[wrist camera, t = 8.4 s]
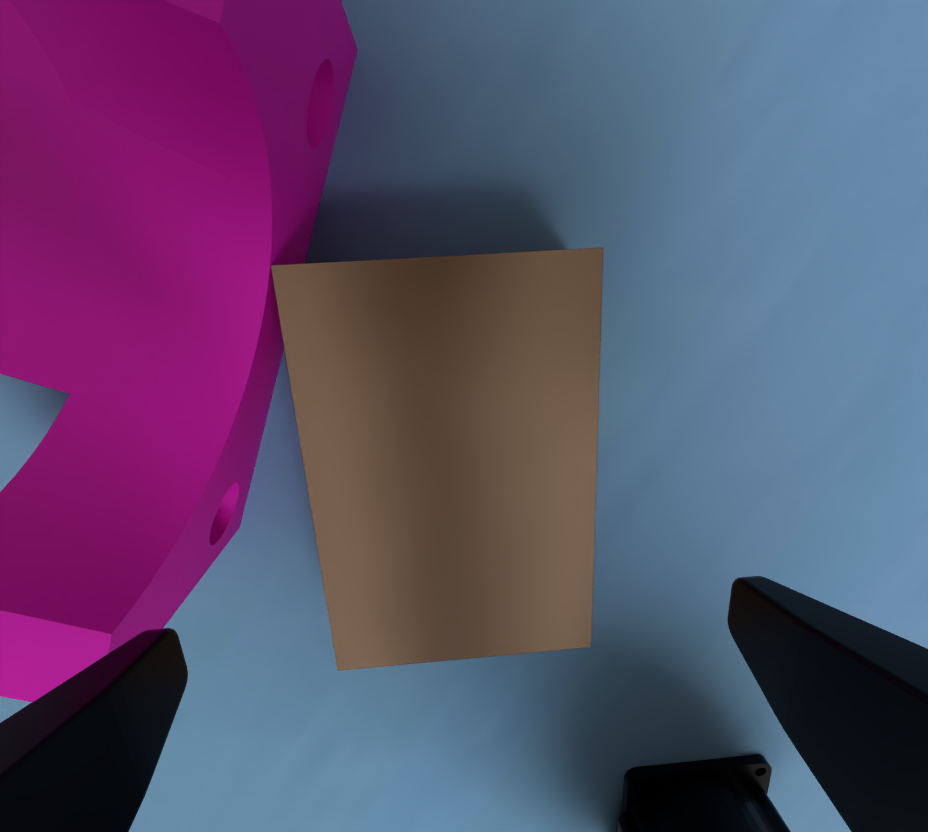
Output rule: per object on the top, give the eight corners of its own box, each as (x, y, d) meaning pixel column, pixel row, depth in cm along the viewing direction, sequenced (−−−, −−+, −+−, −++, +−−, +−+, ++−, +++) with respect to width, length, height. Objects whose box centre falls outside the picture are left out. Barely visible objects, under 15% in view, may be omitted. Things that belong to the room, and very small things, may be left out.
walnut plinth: (569, 252, 14) (603, 247, 12) (565, 587, 18) (590, 646, 15) (304, 267, 14) (270, 265, 11) (353, 605, 18) (337, 670, 15)
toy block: (115, -51, 12) (-371, -548, 5) (358, 53, 13) (264, -227, 6) (50, 474, 16) (-273, 644, 8) (242, 523, 17) (97, 714, 9)
